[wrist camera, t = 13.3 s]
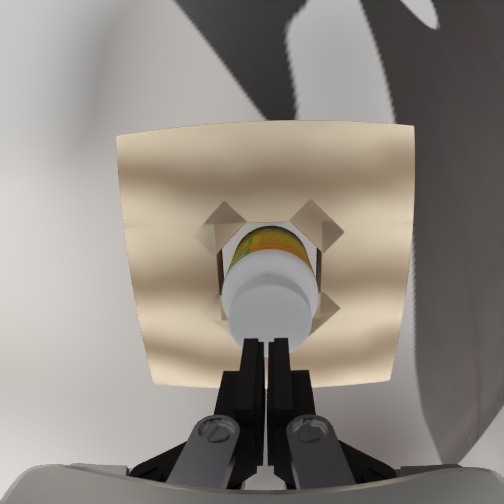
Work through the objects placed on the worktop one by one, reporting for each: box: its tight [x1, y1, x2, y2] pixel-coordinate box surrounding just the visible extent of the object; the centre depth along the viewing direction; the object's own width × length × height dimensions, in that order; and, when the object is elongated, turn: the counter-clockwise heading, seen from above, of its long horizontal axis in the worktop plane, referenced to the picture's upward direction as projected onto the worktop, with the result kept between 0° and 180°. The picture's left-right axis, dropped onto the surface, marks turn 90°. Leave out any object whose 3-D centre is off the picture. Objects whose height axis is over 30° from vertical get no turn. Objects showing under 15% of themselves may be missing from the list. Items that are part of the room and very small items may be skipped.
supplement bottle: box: [222, 226, 319, 357], centre depth 20 cm, size 5×5×10 cm
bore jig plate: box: [116, 120, 415, 389], centre depth 23 cm, size 20×20×2 cm
